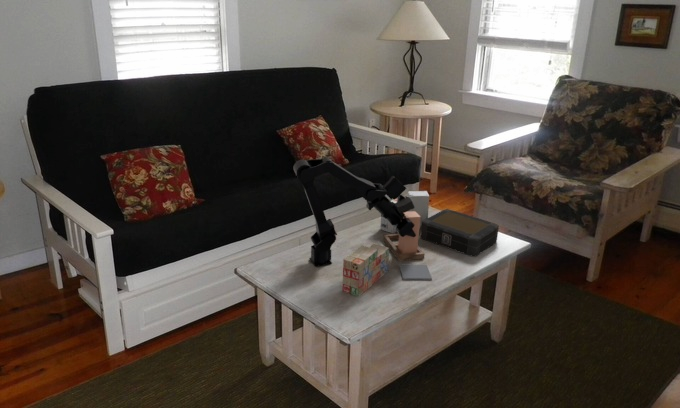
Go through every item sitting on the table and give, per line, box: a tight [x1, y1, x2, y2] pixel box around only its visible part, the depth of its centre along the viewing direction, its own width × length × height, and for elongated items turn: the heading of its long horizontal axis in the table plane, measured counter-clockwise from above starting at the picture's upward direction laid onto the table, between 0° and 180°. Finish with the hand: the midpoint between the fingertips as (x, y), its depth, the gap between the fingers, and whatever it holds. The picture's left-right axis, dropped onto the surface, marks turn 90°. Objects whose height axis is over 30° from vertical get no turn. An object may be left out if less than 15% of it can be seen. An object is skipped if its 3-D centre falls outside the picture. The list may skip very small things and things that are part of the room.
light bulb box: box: [380, 198, 398, 234], centre depth 234 cm, size 11×7×11 cm, turn 143°
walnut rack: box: [382, 233, 426, 262], centre depth 217 cm, size 10×19×2 cm, turn 14°
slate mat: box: [398, 264, 433, 281], centre depth 200 cm, size 10×10×1 cm
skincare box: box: [407, 190, 430, 229], centre depth 235 cm, size 8×6×15 cm
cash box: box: [420, 208, 499, 258], centre depth 225 cm, size 25×20×8 cm
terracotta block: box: [397, 211, 421, 254], centre depth 211 cm, size 6×6×16 cm
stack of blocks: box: [342, 243, 390, 297], centre depth 192 cm, size 21×6×12 cm, turn 148°
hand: (412, 232), depth 211 cm, fingers closed on terracotta block, 6 cm apart
